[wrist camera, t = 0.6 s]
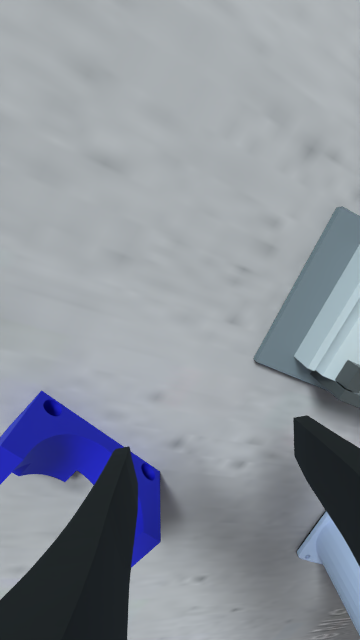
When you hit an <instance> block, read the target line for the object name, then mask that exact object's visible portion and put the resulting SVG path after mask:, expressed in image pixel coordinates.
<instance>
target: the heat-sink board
mask: <svg viewBox="0 0 360 640" xmlns="http://www.w3.org/2000/svg"><path fill="white" fill-rule="evenodd" d="M254 360H255V361H256V362H258V363H261V364H263V365H266V366H268V367H270V368H273V369H275V370H278V371H280V372H283V373H285V374H288V375H290V376H293V377H295V378H298V379H300V380H303V381H305V382H308V383H310V384H312V385H315V386H317V387H320V388H322V389H325V390H327V391H329V392H331V393H332V394H333V395H334V396H335V397H336V398H337V399H338V400H340V401H343V402H345V403H348V404H350V405H353V406H355V407H358V408H360V216H359V215H357V214H355V213H353V212H351V211H350V210H348V209H346V208H344V207H337V208H336V210H335V212H334V213H333V215H332V217H331V219H330V221H329V222H328V224H327V226H326V228H325V230H324V231H323V233H322V235H321V237H320V239H319V241H318V242H317V244H316V246H315V248H314V250H313V251H312V253H311V255H310V257H309V259H308V260H307V262H306V264H305V266H304V268H303V270H302V271H301V273H300V275H299V277H298V279H297V280H296V282H295V284H294V286H293V288H292V290H291V291H290V293H289V295H288V297H287V299H286V300H285V302H284V304H283V306H282V308H281V309H280V311H279V313H278V315H277V317H276V319H275V320H274V322H273V324H272V326H271V328H270V329H269V331H268V333H267V335H266V337H265V338H264V340H263V342H262V344H261V346H260V348H259V349H258V351H257V353H256V355H255V357H254Z"/></svg>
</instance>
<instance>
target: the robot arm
mask: <svg viewBox="0 0 360 640" xmlns="http://www.w3.org/2000/svg"><path fill="white" fill-rule="evenodd" d="M294 452H295V458H296V460H297V462H298V464H299V466H300V468H301V470H302V472H303V474H304V476H305V478H306V480H307V482H308V483H309V485H310V486H311V488H312V490H313V491H314V493H315V494H316V496H317V497H318V499H319V500H320V502H321V504H322V505H323V507H324V508H325V510H326V512H325V514H324V515H323V516H322V518H321V519H320V520H319V522H318V523H317V525H316V526H315V527H314V529H313V530H312V532H311V533H310V534H309V536H308V537H307V538H306V540H305V541H304V543H303V544H302V545H301V547H300V548H299V549H298V551H297V554H298V557H299V558H300V559H304V560H308V561H311V562H315V563H319V564H323V565H324V567H325V569H326V571H327V573H328V575H329V577H330V579H331V581H332V583H333V585H334V587H335V589H336V590H337V592H338V594H339V596H340V598H341V600H342V602H343V604H344V606H345V608H346V610H347V612H348V614H349V616H350V618H351V620H352V622H353V624H354V626H355V628H356V630H357V632H358V634H359V636H360V448H358V447H357V446H355V445H353V444H352V443H350V442H348V441H347V440H345V439H343V438H342V437H340V436H339V435H337V434H336V433H334V432H332V431H331V430H329V429H328V428H326V427H325V426H323V425H321V424H320V423H318V422H317V421H315V420H314V419H312V418H310V417H309V416H301V417H296V418H294ZM137 513H138V481H137V477H136V473H135V469H134V464H133V460H132V456H131V452H130V448H129V447H124V448H118V449H115V450H114V451H113V453H112V455H111V456H110V458H109V460H108V462H107V464H106V465H105V467H104V469H103V471H102V473H101V474H100V476H99V478H98V479H97V481H96V483H95V484H94V486H93V488H92V489H91V491H90V492H89V494H88V496H87V497H86V499H85V500H84V502H83V503H82V505H81V506H80V508H79V509H78V511H77V512H76V513H75V515H74V516H73V518H72V519H71V520H70V522H69V523H68V525H67V526H66V527H65V529H64V530H63V531H62V532H61V534H60V535H59V536H58V538H57V539H56V540H55V541H54V543H53V544H52V545H51V546H50V547H49V548H48V550H47V551H46V552H45V553H44V554H43V556H42V557H41V558H40V559H39V560H38V561H37V562H36V564H35V565H34V566H33V567H32V568H31V569H30V570H29V571H28V572H27V573H26V574H25V576H24V577H23V578H22V579H21V580H20V581H19V582H18V583H17V584H16V585H15V586H14V587H13V588H12V589H11V590H10V591H9V592H8V593H7V594H6V595H5V596H4V597H3V598H2V599H1V600H0V640H127V624H128V599H129V582H130V572H131V563H132V555H133V547H134V539H135V530H136V522H137Z"/></svg>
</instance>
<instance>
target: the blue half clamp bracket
mask: <svg viewBox="0 0 360 640" xmlns="http://www.w3.org/2000/svg"><path fill="white" fill-rule="evenodd" d="M118 448H124V447H123V446H122V445H120V444H119V443H117V442H116V441H114V440H113V439H111V438H110V437H109V436H107V435H106V434H104V433H103V432H101V431H100V430H98V429H97V428H95V427H94V426H93V425H91V424H90V423H88V422H87V421H85V420H84V419H82V418H81V417H79V416H78V415H76V414H75V413H74V412H72V411H71V410H69V409H68V408H66V407H65V406H63V405H62V404H60V403H59V402H57V401H56V400H55V399H53V398H52V397H50V396H49V395H47V394H46V393H44V392H43V391H41V392H40V393H39V394H38V395H37V396H36V397H35V399H34V400H33V401H32V402H31V403H30V404H29V405H28V406H27V407H26V409H25V410H24V411H23V412H22V413H21V414H20V415H19V416H18V417H17V418H16V420H15V421H14V422H13V423H12V424H11V425H10V426H9V427H8V428H7V430H6V431H5V432H4V433H3V435H2V436H1V437H0V484H1V483H2V482H3V481H4V480H5V479H6V478H7V477H8V476H9V475H10V474H11V473H14V474H16V475H18V476H22V475H27V474H43V475H48V476H52V477H55V478H58V479H60V480H62V481H64V482H66V481H67V480H68V479H69V478H70V477H71V476H72V475H73V474H74V473H75V472H76V471H79V472H80V473H81V474H83V475H84V476H85V477H86V478H87V479H89V480H90V482H91V483H92V484H93V485H94V484H95V483H96V481H97V479H98V478H99V476H100V474H101V473H102V471H103V469H104V467H105V465H106V464H107V462H108V460H109V458H110V456H111V455H112V453H113V451H114V450H115V449H118ZM131 456H132V460H133V464H134V469H135V473H136V477H137V481H138V513H137V522H136V530H135V539H134V547H133V555H132V563H131V567H132V566H134V565H135V564H136V563H137V562H138V561H139V560H140V559H142V558H143V557H144V556H145V555H146V554H147V553H148V552H150V551H151V550H152V549H153V548H154V547H155V546H156V545H158V544H159V543H160V542H161V534H160V471H158V470H157V469H155V468H154V467H152V466H151V465H149V464H148V463H147V462H145V461H144V460H142V459H141V458H139V457H138V456H136V455H135V454H133V453H132V452H131Z"/></svg>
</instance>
